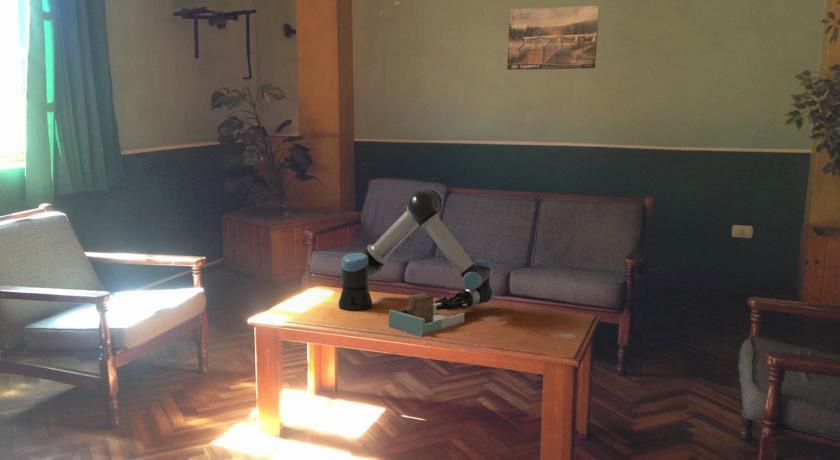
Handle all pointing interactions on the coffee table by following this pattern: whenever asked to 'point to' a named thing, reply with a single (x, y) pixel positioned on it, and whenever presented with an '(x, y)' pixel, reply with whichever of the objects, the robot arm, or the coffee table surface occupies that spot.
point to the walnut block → (421, 306)
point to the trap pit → (404, 311)
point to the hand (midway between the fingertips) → (429, 309)
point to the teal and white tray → (421, 322)
